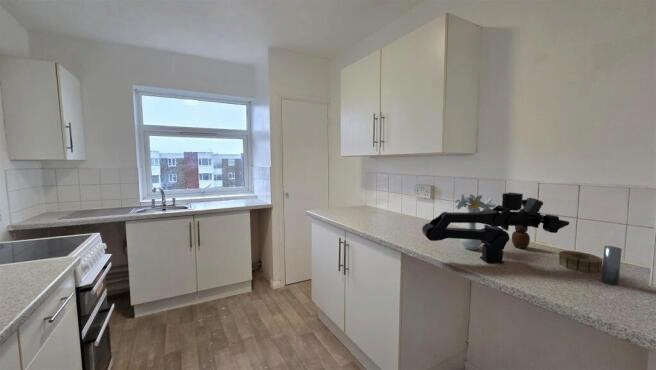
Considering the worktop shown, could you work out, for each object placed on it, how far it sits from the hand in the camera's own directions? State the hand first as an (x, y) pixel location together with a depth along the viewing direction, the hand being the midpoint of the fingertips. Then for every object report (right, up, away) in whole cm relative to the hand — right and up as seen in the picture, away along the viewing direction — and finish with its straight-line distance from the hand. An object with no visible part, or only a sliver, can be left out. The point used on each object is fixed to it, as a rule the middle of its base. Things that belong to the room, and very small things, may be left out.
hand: (559, 220), depth 111 cm
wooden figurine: (-3, -15, +19) cm, 24 cm away
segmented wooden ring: (+5, -17, -3) cm, 18 cm away
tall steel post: (+3, -19, -17) cm, 26 cm away
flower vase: (-25, -15, +20) cm, 35 cm away
